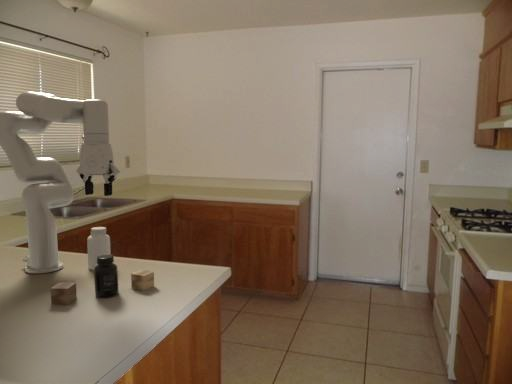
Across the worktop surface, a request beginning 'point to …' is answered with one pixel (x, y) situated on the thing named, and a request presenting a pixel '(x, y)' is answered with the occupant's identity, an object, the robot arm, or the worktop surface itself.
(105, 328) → the worktop surface
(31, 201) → the robot arm
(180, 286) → the worktop surface
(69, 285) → the walnut block
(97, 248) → the pill bottle
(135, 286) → the maple block
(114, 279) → the supplement bottle
